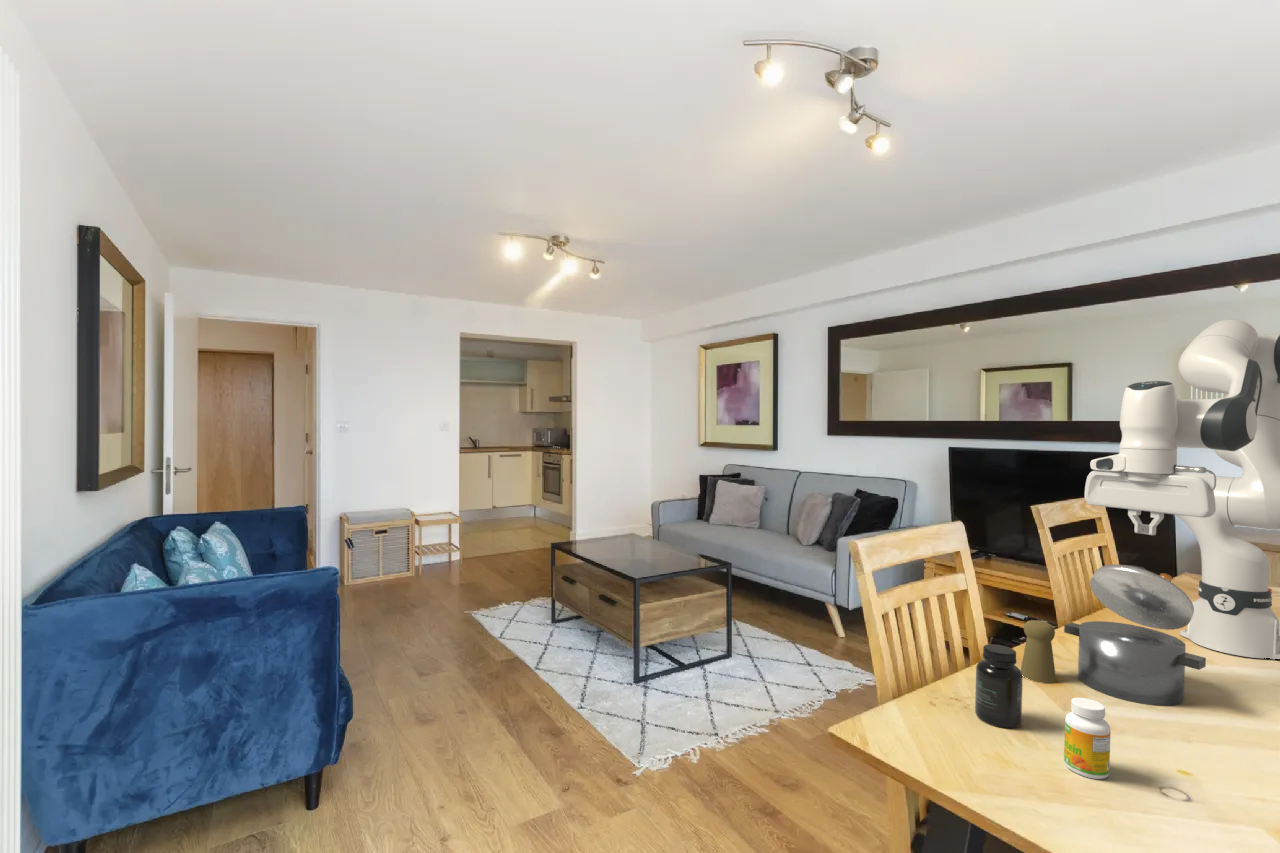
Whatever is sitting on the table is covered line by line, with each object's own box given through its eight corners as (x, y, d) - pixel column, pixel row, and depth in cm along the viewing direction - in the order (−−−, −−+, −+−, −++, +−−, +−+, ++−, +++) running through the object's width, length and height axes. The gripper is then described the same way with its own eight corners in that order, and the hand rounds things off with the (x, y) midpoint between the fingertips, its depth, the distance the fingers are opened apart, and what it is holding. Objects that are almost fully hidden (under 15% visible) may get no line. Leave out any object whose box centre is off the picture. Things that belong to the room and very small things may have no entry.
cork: (1061, 684, 120) (1063, 628, 120) (1027, 681, 121) (1028, 625, 121) (1048, 672, 126) (1049, 618, 125) (1015, 669, 127) (1016, 616, 127)
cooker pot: (1085, 659, 133) (1086, 613, 133) (1217, 699, 114) (1219, 645, 114) (1046, 674, 125) (1048, 624, 124) (1182, 720, 106) (1184, 662, 106)
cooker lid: (1102, 615, 130) (1108, 603, 132) (1200, 639, 117) (1206, 625, 118) (1080, 562, 125) (1086, 550, 126) (1180, 581, 111) (1186, 567, 113)
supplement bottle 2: (1054, 759, 93) (1056, 695, 93) (1088, 758, 93) (1090, 694, 93) (1083, 780, 87) (1085, 712, 87) (1119, 779, 88) (1120, 711, 88)
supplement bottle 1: (1000, 708, 109) (1002, 640, 109) (1031, 727, 102) (1033, 655, 102) (965, 711, 108) (967, 642, 108) (994, 730, 101) (996, 657, 101)
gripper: (1223, 467, 114) (1220, 542, 114) (1096, 459, 132) (1094, 524, 132) (1209, 468, 111) (1207, 545, 111) (1081, 460, 129) (1079, 527, 129)
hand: (1145, 534), depth 122 cm, fingers closed
